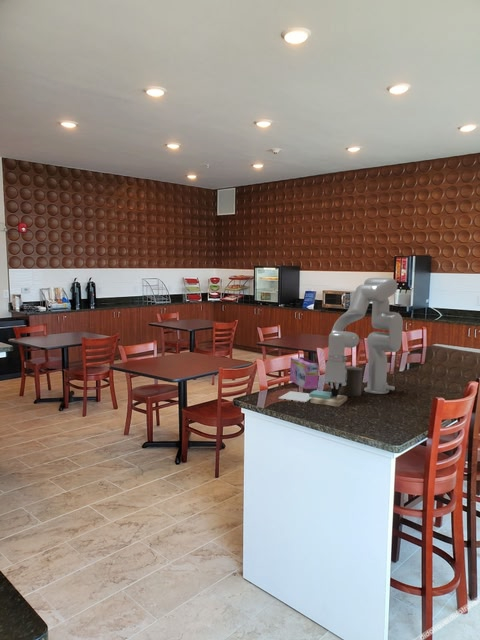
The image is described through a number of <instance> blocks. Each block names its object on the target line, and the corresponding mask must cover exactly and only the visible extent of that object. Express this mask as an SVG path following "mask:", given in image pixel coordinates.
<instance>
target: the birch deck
mask: <svg viewBox="0 0 480 640" xmlns="http://www.w3.org/2000/svg"><path fill="white" fill-rule="evenodd" d="M347 400H348V396H347V395H343V394H342V395H341V394H338V395H337V397H332V398H331V399H322V398H314V397H312V398H310V400H309V401H310V404H319V405H326V406H333V407H341V405H343V404H344V403H345V402H346V401H347Z"/></svg>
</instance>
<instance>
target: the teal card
mask: <svg viewBox="0 0 480 640" xmlns="http://www.w3.org/2000/svg"><path fill="white" fill-rule="evenodd" d="M308 394H309V397H314V398H322V399H331V398H332V391H325V390H324V391H323V390H318V389H317V390H316V389H313V390H312V391H310V393H308Z"/></svg>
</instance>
